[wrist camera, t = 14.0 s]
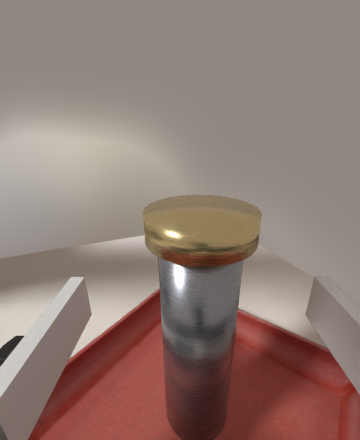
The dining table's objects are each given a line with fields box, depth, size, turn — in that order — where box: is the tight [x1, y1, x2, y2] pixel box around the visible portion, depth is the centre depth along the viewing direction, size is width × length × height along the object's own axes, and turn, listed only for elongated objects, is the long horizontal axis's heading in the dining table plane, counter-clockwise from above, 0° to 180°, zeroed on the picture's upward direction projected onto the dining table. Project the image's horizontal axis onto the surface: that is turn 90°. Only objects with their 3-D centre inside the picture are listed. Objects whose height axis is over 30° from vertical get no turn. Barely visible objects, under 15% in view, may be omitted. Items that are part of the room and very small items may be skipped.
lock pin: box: [143, 195, 262, 440], centre depth 11 cm, size 5×5×12 cm
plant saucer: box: [28, 288, 360, 440], centre depth 14 cm, size 18×18×3 cm
